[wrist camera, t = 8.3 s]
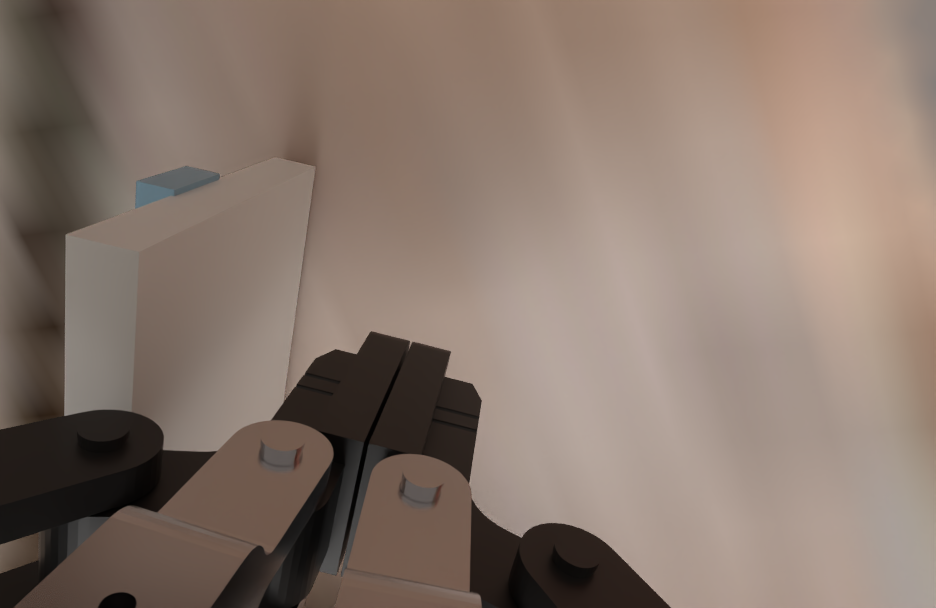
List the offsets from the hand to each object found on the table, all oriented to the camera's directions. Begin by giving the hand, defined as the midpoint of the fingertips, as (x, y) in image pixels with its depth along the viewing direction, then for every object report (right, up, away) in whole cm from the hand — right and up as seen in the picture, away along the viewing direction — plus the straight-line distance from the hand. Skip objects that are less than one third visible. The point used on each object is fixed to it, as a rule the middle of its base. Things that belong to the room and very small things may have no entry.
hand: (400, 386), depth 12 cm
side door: (-4, -1, +4) cm, 6 cm away
